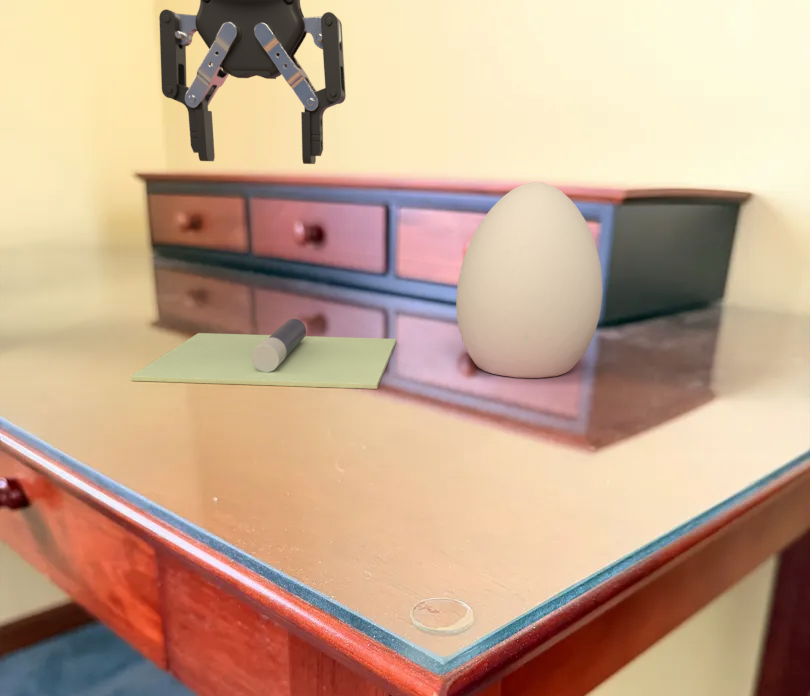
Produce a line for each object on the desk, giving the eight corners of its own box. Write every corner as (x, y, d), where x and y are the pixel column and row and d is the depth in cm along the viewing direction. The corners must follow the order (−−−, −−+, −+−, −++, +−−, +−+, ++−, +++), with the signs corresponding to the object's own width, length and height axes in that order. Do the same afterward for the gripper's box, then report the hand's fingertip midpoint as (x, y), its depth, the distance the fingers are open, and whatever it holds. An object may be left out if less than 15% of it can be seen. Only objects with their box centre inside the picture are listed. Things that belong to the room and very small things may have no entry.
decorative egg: (583, 354, 78) (602, 181, 71) (603, 387, 66) (627, 186, 60) (454, 351, 78) (461, 179, 72) (453, 382, 67) (461, 183, 61)
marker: (282, 340, 79) (283, 316, 78) (306, 343, 79) (307, 318, 78) (251, 370, 68) (251, 343, 67) (278, 373, 68) (279, 346, 67)
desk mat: (131, 380, 66) (130, 376, 66) (198, 336, 82) (198, 332, 82) (377, 389, 65) (377, 384, 65) (396, 342, 81) (396, 338, 81)
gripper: (350, -66, 63) (350, 165, 70) (170, -68, 64) (187, 160, 71) (334, -93, 57) (336, 165, 63) (133, -95, 57) (156, 159, 64)
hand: (257, 162), depth 67 cm, fingers open, 8 cm apart
